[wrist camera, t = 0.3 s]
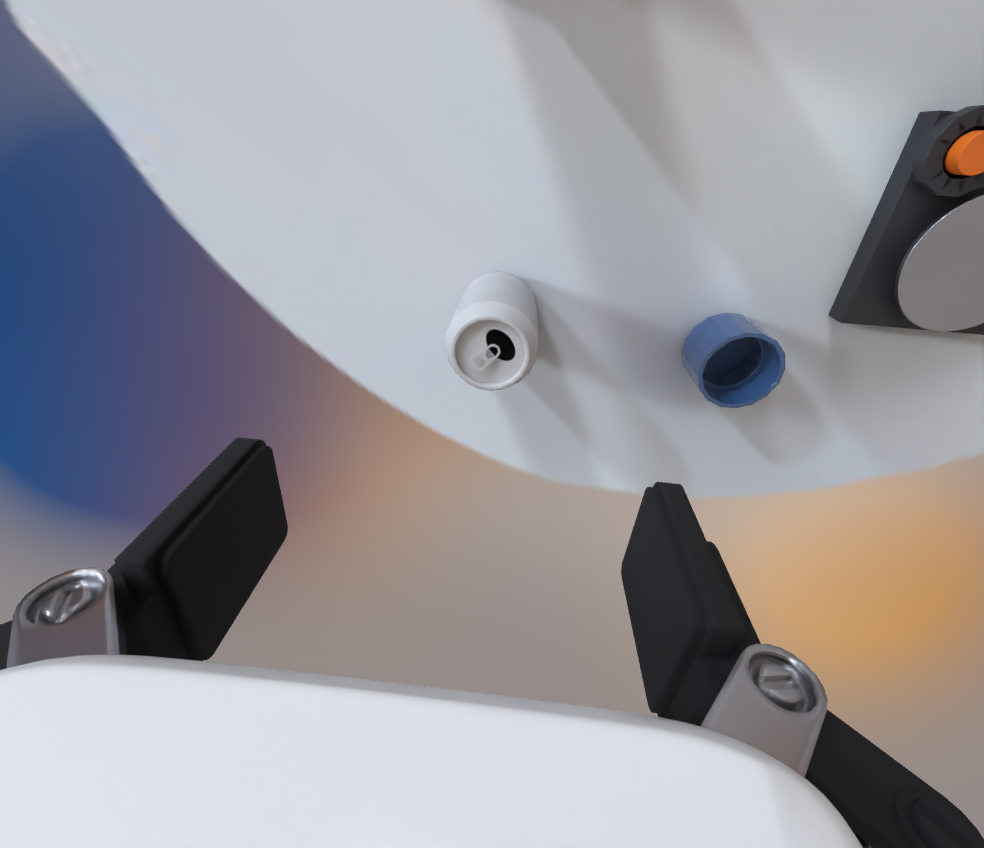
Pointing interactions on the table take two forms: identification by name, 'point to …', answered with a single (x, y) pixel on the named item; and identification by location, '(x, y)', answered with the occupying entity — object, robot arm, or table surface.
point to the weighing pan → (945, 271)
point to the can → (494, 332)
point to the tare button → (966, 154)
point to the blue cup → (733, 360)
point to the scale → (907, 218)
